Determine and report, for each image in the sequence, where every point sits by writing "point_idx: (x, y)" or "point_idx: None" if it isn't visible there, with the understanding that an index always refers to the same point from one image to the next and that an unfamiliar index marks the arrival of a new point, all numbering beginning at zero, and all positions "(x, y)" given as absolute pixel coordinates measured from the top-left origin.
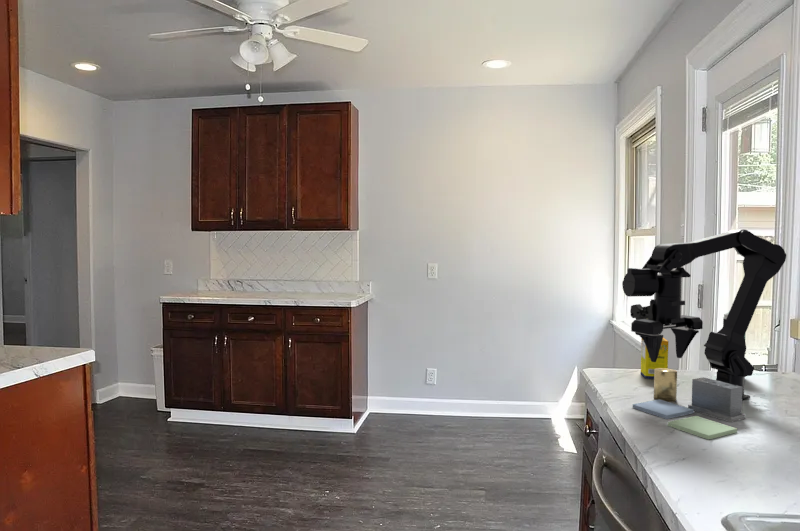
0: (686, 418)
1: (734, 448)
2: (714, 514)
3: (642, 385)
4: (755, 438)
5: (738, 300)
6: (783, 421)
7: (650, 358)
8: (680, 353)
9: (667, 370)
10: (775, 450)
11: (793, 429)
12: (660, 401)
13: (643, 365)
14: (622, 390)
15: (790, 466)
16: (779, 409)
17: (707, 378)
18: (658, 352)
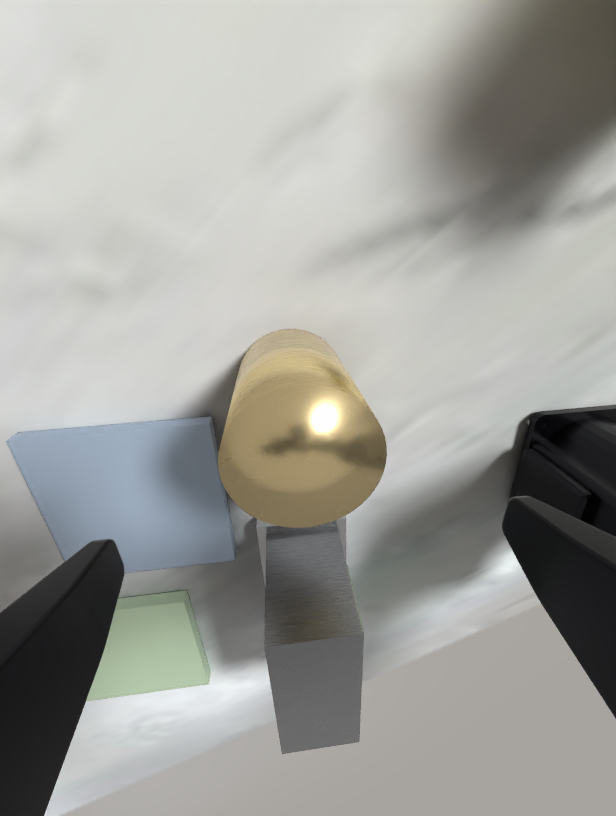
0: (125, 612)
1: (107, 723)
2: None
3: (424, 76)
4: (218, 697)
5: None
6: (415, 645)
7: (66, 564)
8: (535, 568)
9: (319, 466)
10: (192, 737)
11: (370, 678)
12: (186, 451)
13: None
14: (179, 120)
15: (144, 775)
16: (528, 586)
17: (357, 650)
18: (61, 735)
